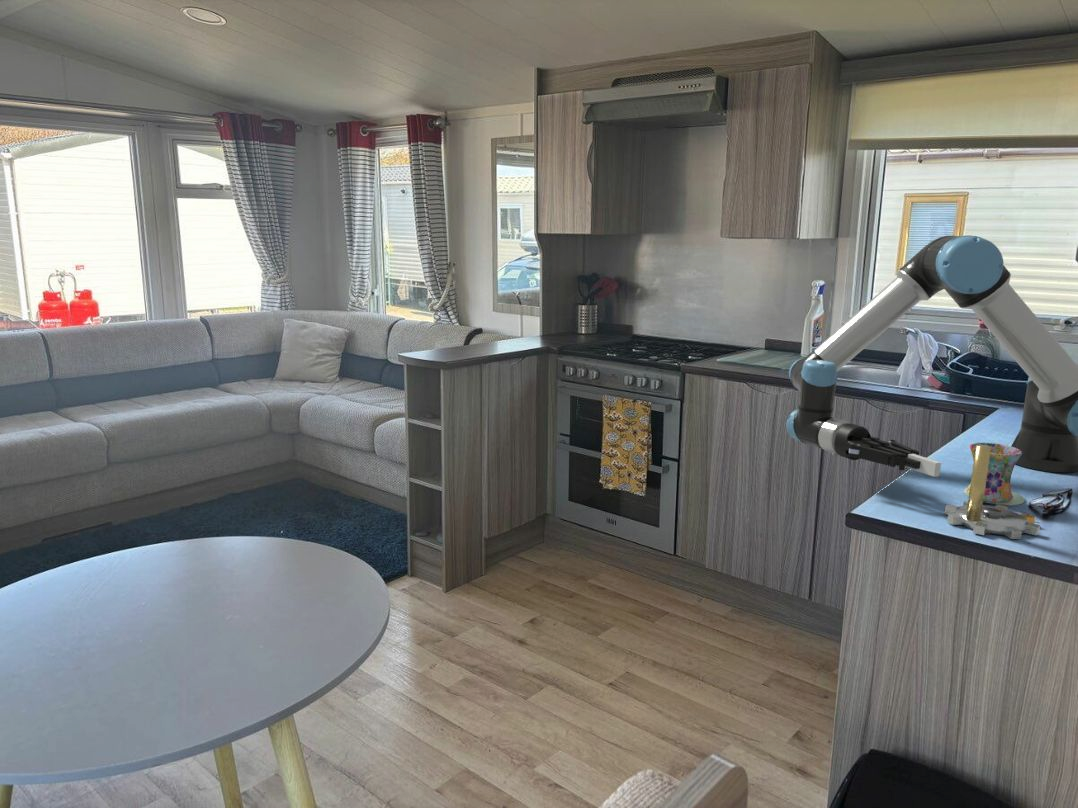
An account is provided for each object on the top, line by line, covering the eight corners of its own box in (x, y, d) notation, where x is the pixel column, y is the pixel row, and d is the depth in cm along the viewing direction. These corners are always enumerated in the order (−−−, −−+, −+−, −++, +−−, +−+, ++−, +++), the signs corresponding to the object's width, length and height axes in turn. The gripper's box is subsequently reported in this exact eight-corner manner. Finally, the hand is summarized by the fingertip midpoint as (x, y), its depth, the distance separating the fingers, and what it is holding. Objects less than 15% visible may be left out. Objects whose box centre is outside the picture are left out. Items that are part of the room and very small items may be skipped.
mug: (1024, 506, 160) (1032, 455, 157) (977, 505, 160) (984, 454, 158) (992, 487, 172) (999, 439, 169) (948, 486, 172) (955, 438, 169)
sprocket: (981, 505, 160) (992, 430, 157) (1055, 531, 147) (1069, 450, 144) (927, 515, 154) (938, 437, 151) (1000, 543, 141) (1013, 458, 137)
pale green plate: (987, 485, 174) (987, 483, 174) (1036, 501, 164) (1036, 499, 164) (952, 491, 170) (952, 489, 169) (1000, 508, 160) (1000, 506, 160)
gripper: (865, 453, 179) (958, 484, 158) (820, 458, 173) (910, 491, 152) (869, 420, 177) (963, 447, 156) (824, 425, 172) (915, 454, 151)
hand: (937, 469), depth 154 cm, fingers closed
